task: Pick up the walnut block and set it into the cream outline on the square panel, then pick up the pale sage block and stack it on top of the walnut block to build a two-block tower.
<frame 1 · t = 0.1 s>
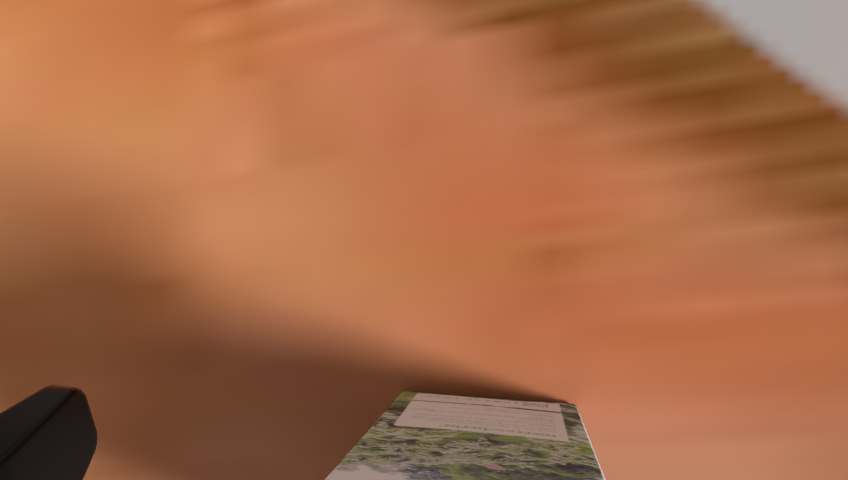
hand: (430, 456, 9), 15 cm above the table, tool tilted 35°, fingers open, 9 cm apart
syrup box: (484, 478, 24), on the table
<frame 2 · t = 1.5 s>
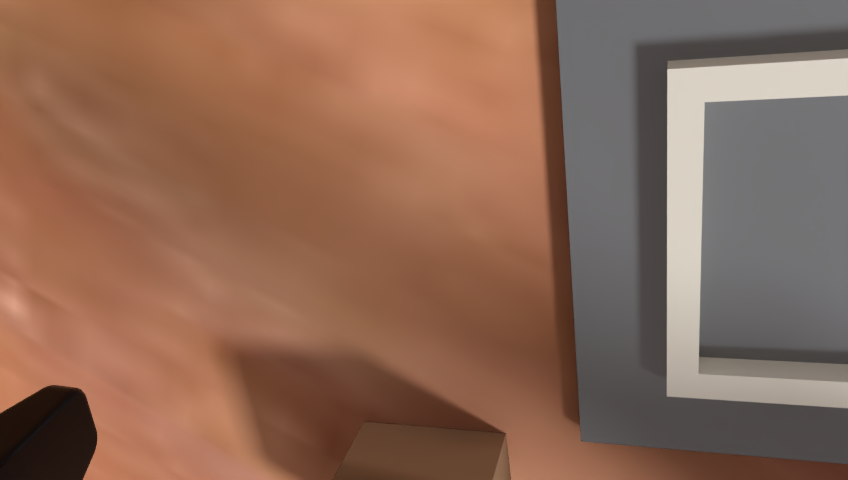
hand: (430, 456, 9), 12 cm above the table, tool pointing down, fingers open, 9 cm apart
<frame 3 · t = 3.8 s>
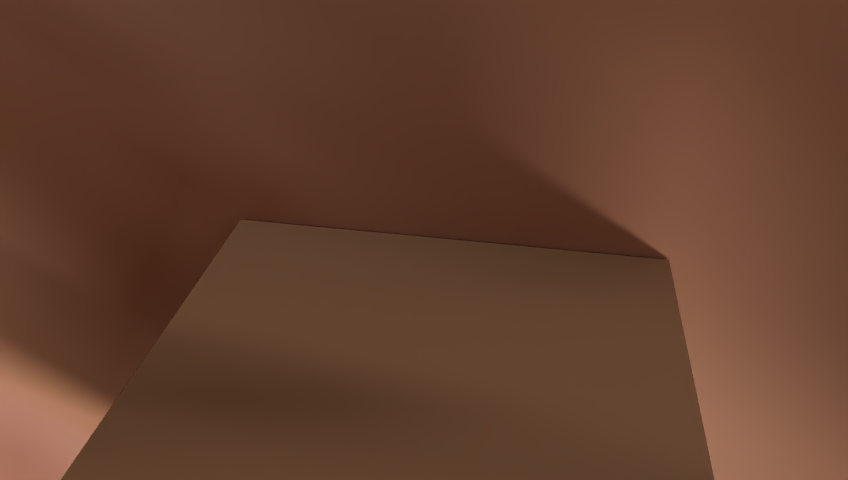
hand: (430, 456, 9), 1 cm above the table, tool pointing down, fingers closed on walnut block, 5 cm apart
walnut block: (441, 396, 10), on the table, touching gripper
when the fingers open (3 cm above the table, at t = 8.2 s): walnut block drops 2 cm, resting on square panel.
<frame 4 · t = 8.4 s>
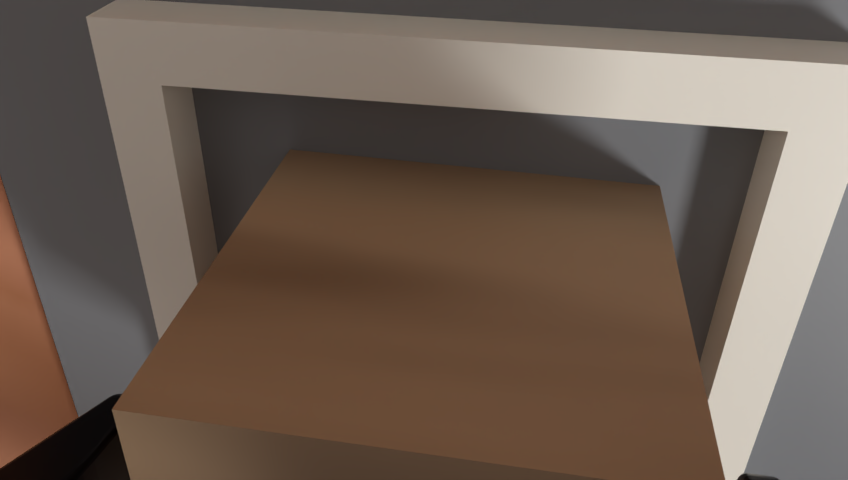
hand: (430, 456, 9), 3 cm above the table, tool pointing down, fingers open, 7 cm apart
walnut block: (459, 313, 12), point 1 cm above the table, touching square panel
square panel: (460, 290, 12), on the table
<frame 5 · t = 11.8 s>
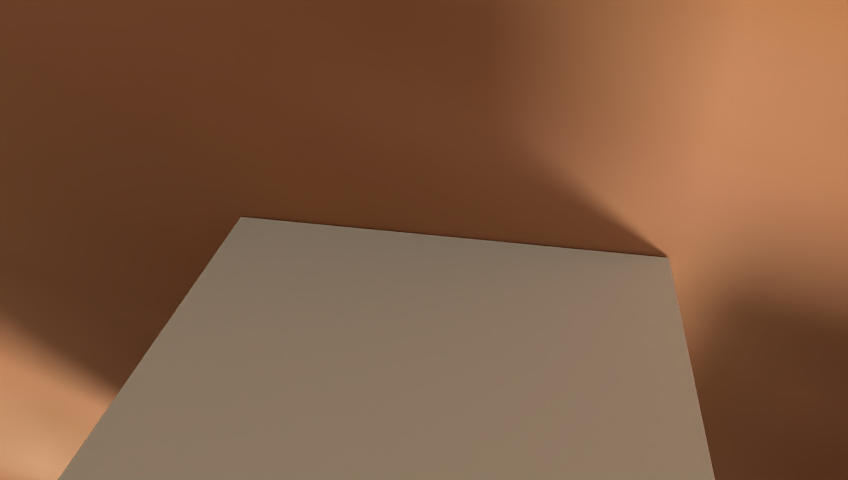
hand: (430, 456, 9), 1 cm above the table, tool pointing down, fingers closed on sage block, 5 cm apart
sage block: (441, 394, 10), on the table, touching gripper
when the fingers open (8 cm above the table, at t = 15.5 s): sage block drops 1 cm, resting on walnut block.
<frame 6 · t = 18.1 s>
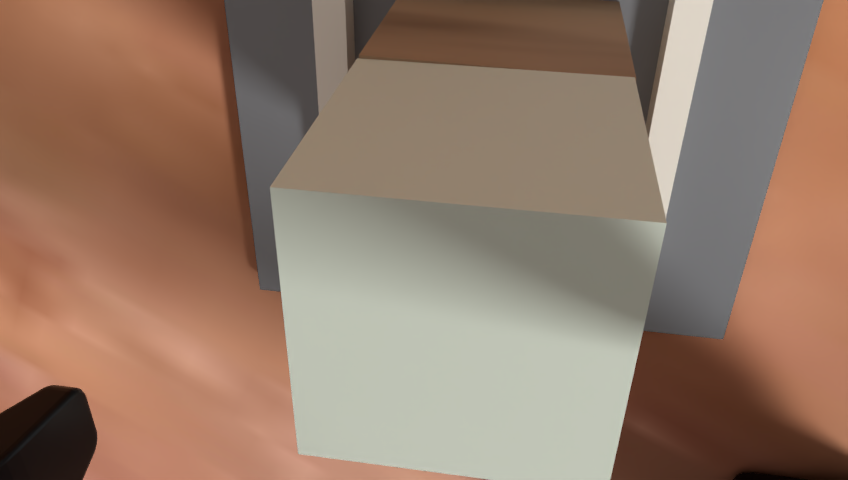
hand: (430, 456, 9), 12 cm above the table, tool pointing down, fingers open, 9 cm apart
walnut block: (501, 94, 19), point 1 cm above the table, touching square panel, sage block
sage block: (484, 189, 15), point 6 cm above the table, touching walnut block
square panel: (500, 85, 20), on the table
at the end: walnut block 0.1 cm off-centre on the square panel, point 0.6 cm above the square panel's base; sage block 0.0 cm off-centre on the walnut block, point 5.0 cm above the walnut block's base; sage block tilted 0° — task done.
